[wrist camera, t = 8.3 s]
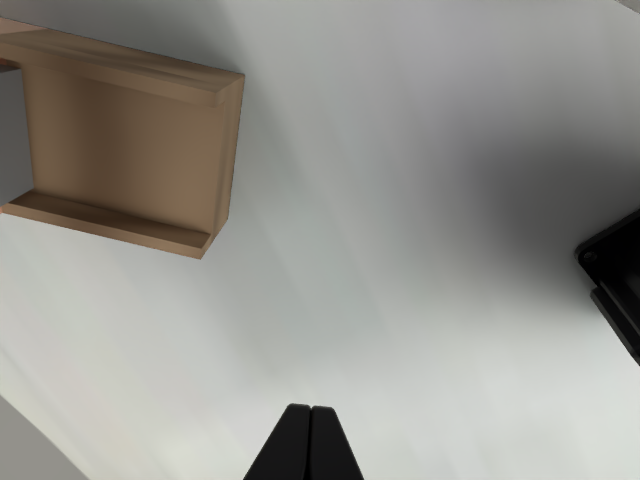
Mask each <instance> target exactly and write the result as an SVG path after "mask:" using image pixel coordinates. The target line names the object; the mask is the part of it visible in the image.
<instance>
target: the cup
mask: <svg viewBox="0 0 640 480" xmlns="http://www.w3.org/2000/svg"><path fill="white" fill-rule="evenodd" d="M615 1H617V2H619V3H621V4H623V5H624V6H626V7H628V8H630V9H632V10H634V11H635V12H637V13H639V14H640V0H615Z"/></svg>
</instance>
